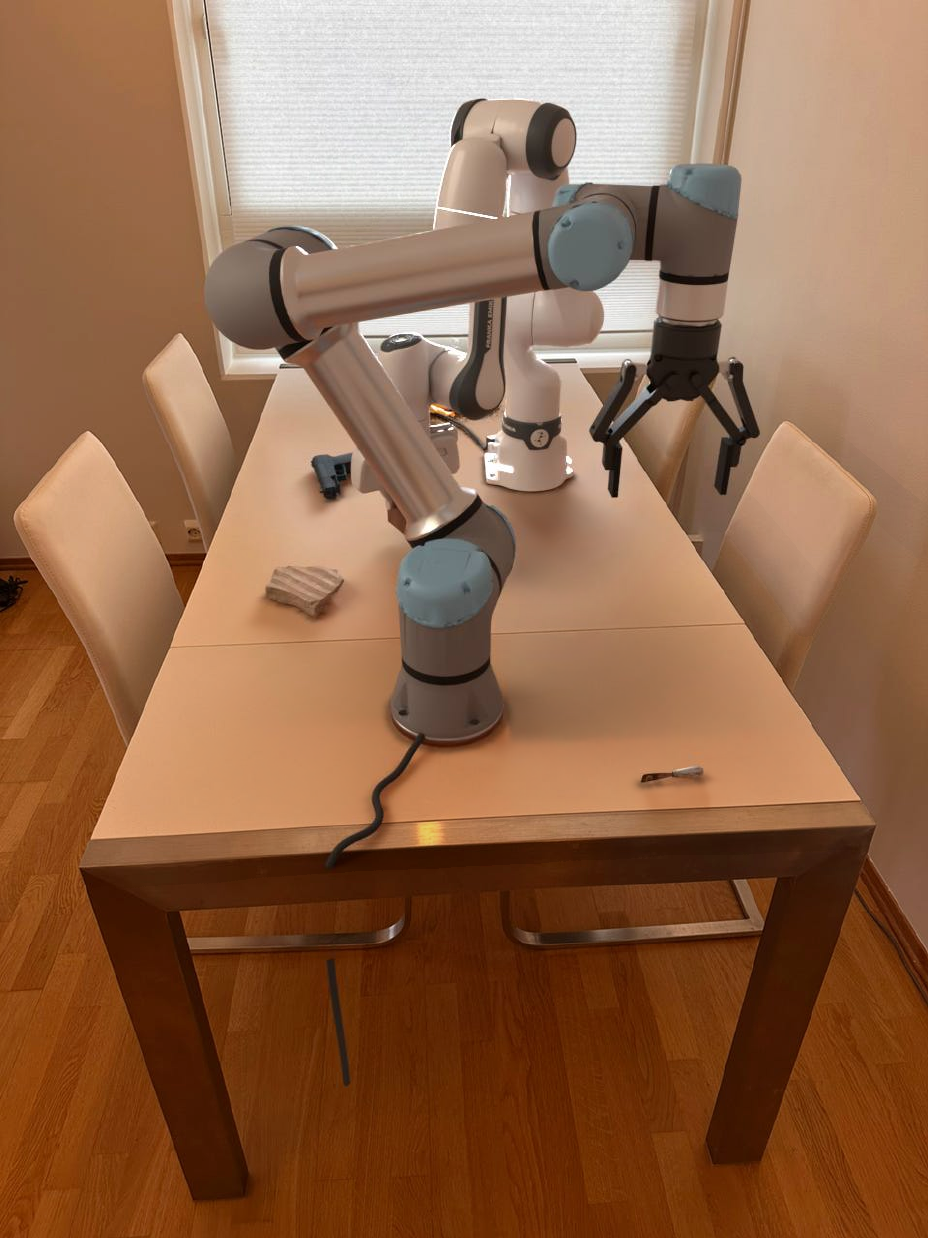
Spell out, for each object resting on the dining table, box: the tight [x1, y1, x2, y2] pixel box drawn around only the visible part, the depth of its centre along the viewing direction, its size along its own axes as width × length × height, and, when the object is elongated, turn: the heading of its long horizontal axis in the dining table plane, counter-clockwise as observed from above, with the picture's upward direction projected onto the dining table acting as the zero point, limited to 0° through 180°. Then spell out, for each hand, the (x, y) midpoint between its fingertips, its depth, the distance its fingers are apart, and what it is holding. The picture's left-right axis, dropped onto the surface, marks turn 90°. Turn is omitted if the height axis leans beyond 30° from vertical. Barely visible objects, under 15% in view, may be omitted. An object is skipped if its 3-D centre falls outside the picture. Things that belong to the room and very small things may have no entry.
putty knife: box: [640, 765, 705, 784], centre depth 109 cm, size 1×8×2 cm, turn 103°
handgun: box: [310, 451, 353, 500], centre depth 187 cm, size 3×17×12 cm
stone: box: [264, 565, 345, 618], centre depth 147 cm, size 13×12×3 cm
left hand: (666, 492), depth 112 cm, fingers open, 13 cm apart
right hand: (408, 504), depth 162 cm, fingers closed on bar, 5 cm apart
